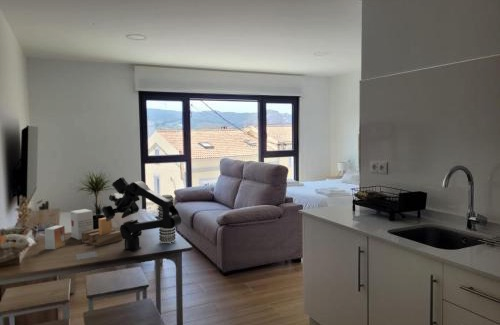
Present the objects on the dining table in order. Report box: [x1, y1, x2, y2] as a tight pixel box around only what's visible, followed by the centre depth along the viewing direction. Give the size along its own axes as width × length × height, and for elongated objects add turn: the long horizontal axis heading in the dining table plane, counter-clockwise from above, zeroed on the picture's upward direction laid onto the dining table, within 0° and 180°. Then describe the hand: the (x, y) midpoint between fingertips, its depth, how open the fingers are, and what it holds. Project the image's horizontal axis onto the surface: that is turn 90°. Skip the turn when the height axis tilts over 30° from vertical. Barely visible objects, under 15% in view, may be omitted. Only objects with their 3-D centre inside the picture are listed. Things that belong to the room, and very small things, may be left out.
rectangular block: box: [97, 216, 113, 235], centre depth 201 cm, size 2×6×12 cm, turn 145°
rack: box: [81, 228, 123, 247], centre depth 203 cm, size 16×14×5 cm
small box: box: [44, 224, 66, 250], centre depth 192 cm, size 8×6×10 cm
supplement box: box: [70, 208, 94, 241], centre depth 211 cm, size 9×9×15 cm
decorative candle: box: [157, 194, 176, 244], centre depth 200 cm, size 9×9×25 cm
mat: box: [75, 251, 99, 261], centre depth 178 cm, size 9×9×1 cm
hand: (114, 219), depth 195 cm, fingers open, 9 cm apart
